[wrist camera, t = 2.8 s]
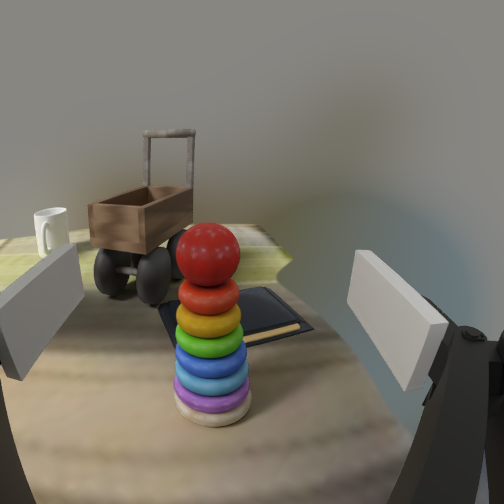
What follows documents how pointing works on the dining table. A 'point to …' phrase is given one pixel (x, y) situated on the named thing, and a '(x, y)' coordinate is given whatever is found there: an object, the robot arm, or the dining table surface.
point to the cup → (51, 230)
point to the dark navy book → (251, 317)
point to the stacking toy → (210, 330)
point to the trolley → (142, 229)
